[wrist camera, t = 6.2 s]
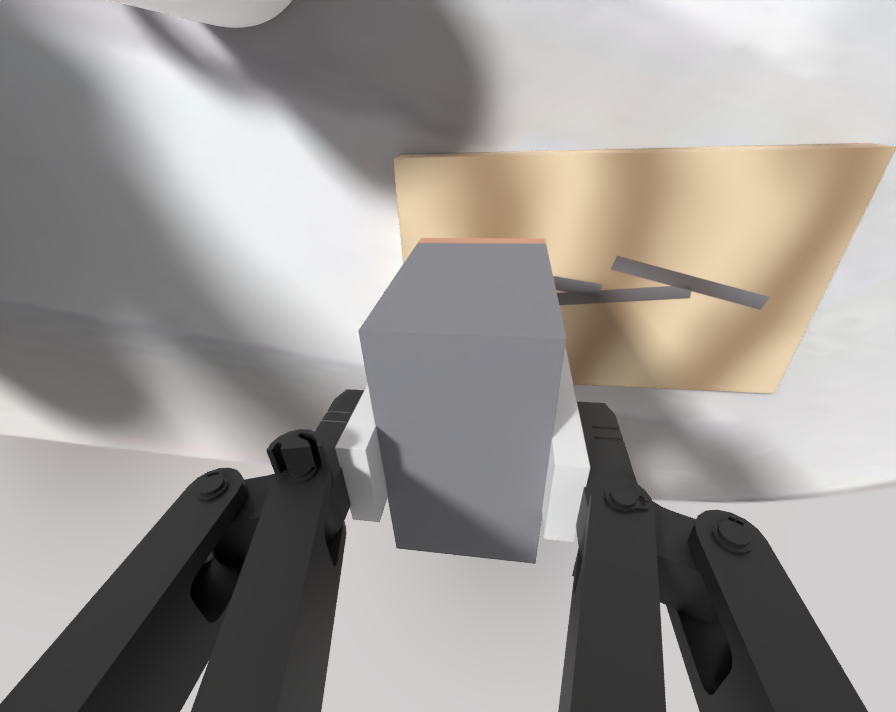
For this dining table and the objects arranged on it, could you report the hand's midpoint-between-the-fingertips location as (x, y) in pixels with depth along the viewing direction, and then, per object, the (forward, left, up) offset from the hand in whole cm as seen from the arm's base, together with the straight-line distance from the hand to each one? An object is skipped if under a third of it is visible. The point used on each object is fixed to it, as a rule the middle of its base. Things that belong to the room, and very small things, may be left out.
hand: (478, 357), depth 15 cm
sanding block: (0, 0, -1) cm, 1 cm away
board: (+6, 0, -8) cm, 10 cm away
